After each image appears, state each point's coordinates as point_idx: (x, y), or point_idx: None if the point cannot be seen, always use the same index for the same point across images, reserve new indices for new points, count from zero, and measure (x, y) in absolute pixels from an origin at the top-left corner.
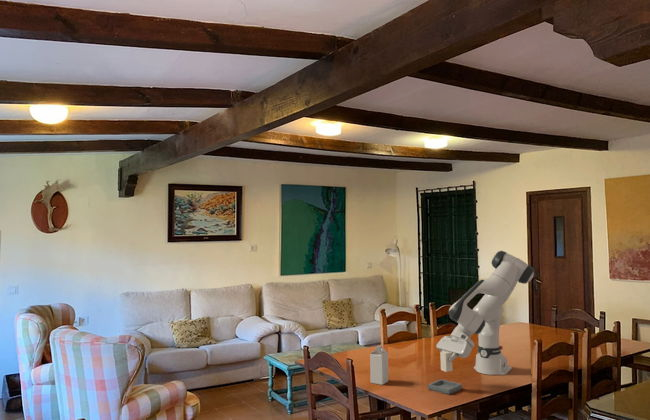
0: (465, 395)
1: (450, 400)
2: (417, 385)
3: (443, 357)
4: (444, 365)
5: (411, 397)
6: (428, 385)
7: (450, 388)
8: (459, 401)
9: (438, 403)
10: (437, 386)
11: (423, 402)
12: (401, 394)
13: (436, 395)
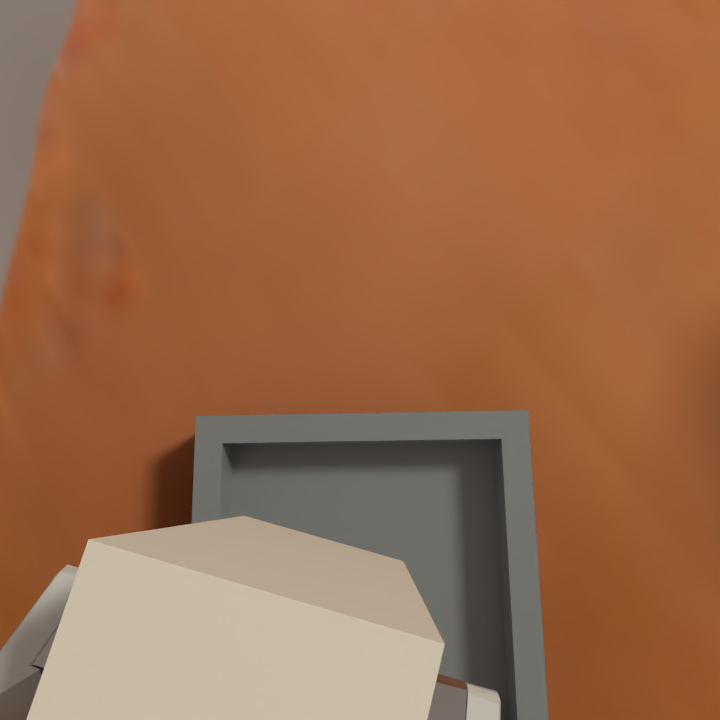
0: (56, 552)
1: (111, 280)
2: (714, 456)
3: (270, 562)
4: (274, 535)
5: (469, 73)
6: (518, 411)
7: (206, 475)
8: (21, 321)
9: (162, 123)
10: (381, 423)
11: (290, 45)
12: (607, 71)
13: (313, 307)
